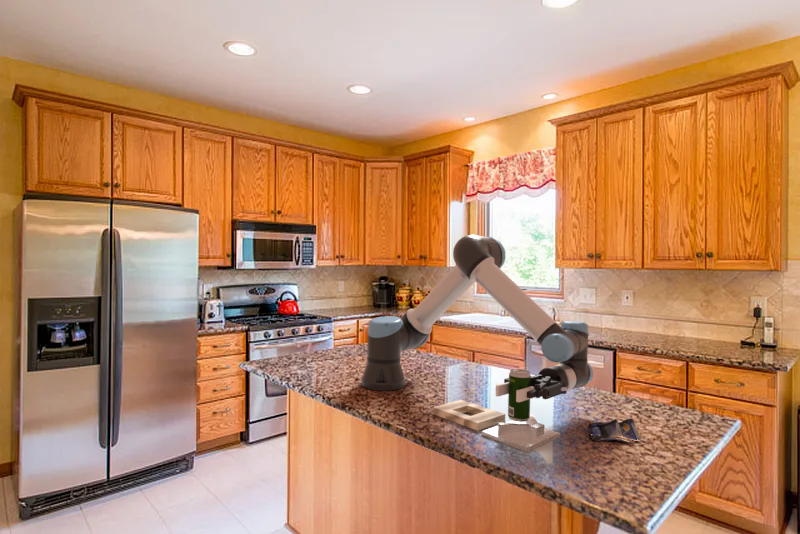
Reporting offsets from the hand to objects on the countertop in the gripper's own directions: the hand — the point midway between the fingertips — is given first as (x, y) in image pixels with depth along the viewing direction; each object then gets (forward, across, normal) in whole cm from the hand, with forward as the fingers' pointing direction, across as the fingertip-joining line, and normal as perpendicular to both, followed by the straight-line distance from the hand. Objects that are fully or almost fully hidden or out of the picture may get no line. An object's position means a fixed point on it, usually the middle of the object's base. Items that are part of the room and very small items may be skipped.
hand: (507, 393), depth 112 cm
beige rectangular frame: (-5, +16, -11) cm, 20 cm away
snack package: (-23, -16, -12) cm, 30 cm away
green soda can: (-5, 0, -7) cm, 9 cm away
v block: (-5, 0, -11) cm, 13 cm away
